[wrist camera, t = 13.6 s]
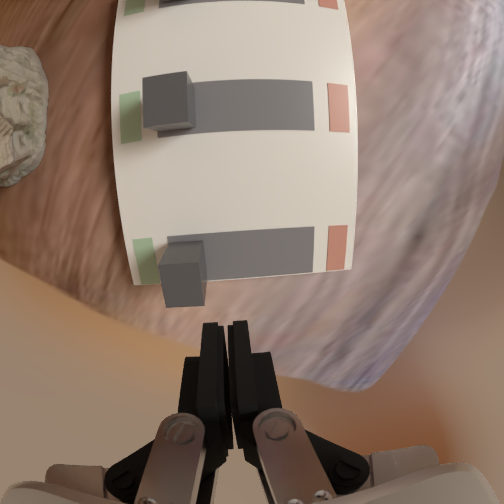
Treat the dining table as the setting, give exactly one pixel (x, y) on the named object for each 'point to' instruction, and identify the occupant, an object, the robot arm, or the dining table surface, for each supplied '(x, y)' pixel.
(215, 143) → the breaker panel
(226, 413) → the robot arm
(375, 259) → the dining table surface
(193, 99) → the middle breaker
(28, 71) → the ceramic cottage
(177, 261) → the block
